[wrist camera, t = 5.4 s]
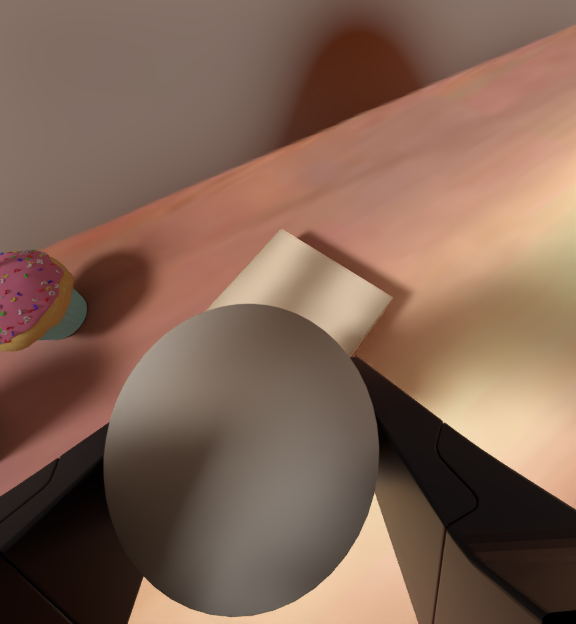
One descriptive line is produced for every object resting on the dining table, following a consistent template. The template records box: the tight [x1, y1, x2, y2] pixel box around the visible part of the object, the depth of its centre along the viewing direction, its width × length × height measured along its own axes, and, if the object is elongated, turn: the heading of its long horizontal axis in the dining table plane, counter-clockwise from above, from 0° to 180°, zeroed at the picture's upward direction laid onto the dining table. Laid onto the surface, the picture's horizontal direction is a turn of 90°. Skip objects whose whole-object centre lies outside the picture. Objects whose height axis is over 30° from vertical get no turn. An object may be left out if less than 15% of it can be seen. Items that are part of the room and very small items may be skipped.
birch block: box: [206, 229, 393, 357], centre depth 23 cm, size 11×11×3 cm
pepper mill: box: [104, 304, 379, 617], centre depth 10 cm, size 5×5×10 cm
